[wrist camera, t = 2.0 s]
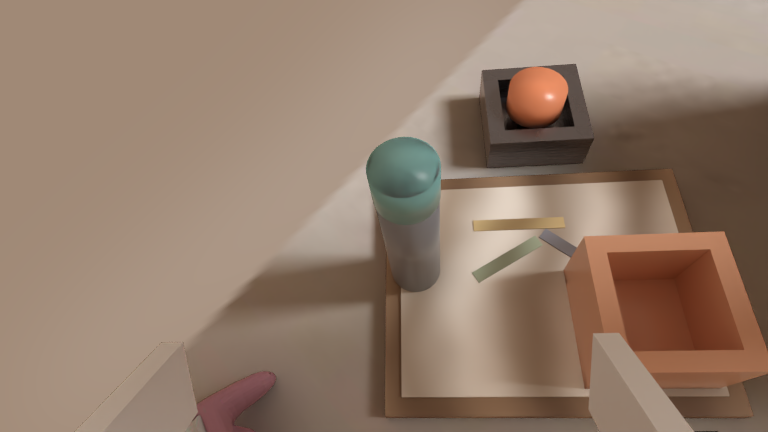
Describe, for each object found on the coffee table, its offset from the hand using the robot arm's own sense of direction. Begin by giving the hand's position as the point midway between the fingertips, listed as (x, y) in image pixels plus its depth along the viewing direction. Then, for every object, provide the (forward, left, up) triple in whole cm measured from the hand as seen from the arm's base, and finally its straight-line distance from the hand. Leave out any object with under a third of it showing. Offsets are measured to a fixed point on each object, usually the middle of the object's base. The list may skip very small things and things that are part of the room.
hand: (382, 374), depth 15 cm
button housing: (-10, -21, -15) cm, 28 cm away
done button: (-10, -21, -12) cm, 26 cm away
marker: (-1, -9, -14) cm, 16 cm away
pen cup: (-14, -5, -14) cm, 20 cm away
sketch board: (-9, -8, -15) cm, 19 cm away
